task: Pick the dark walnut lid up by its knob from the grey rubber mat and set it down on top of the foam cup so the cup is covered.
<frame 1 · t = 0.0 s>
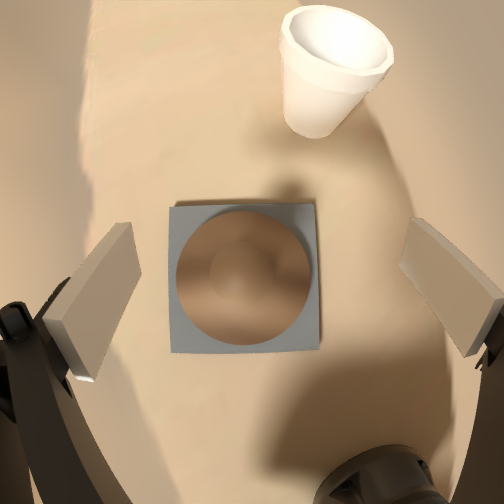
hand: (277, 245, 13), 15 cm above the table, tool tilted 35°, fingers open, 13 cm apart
lid: (243, 278, 27), point 1 cm above the table, touching mat
foam cup: (310, 116, 31), on the table
mat: (243, 278, 28), on the table
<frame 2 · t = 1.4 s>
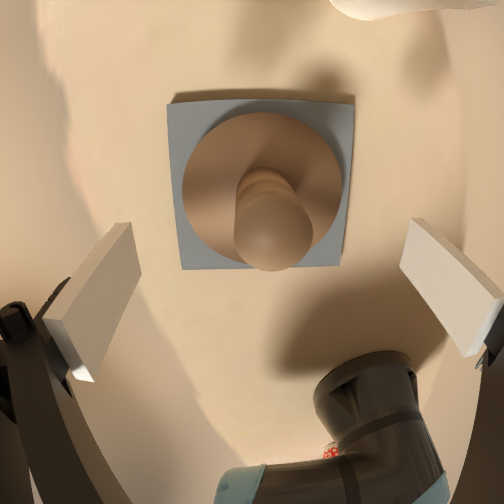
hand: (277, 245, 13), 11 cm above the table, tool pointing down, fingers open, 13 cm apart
beverage cup: (333, 446, 47), on the table
lid: (262, 189, 22), point 1 cm above the table, touching mat
mat: (261, 186, 23), on the table
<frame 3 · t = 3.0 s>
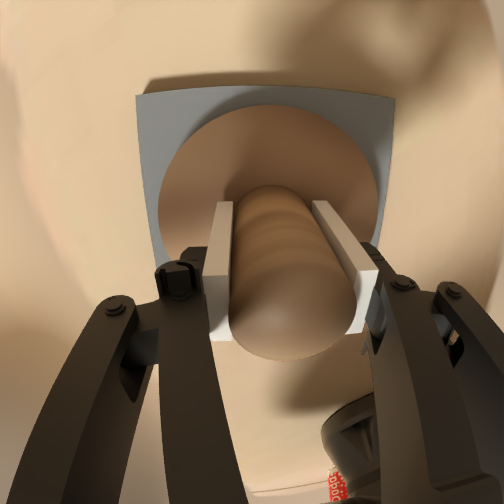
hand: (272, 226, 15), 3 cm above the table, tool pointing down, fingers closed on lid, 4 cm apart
beverage cup: (338, 468, 42), on the table
lid: (269, 213, 16), point 1 cm above the table, touching gripper
mat: (268, 206, 17), on the table
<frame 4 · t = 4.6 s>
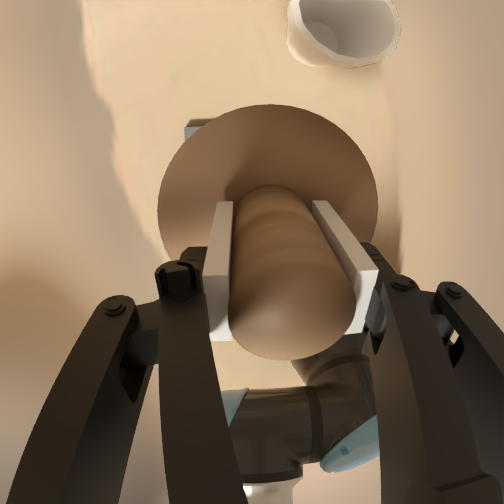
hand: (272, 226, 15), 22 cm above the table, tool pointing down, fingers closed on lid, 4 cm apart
lid: (269, 212, 16), point 20 cm above the table, touching gripper
foam cup: (312, 43, 28), on the table
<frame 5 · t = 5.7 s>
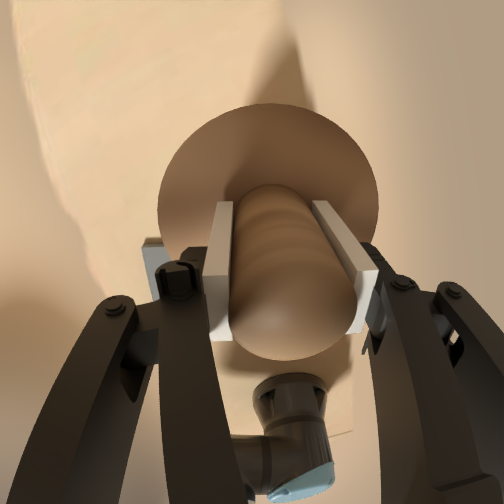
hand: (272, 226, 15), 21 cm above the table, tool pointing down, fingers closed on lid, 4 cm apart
lid: (269, 212, 16), point 19 cm above the table, touching gripper
mat: (198, 286, 41), on the table
when the fingers open (16 cm above the table, at t = 6.6 s): lid drops 2 cm, resting on foam cup.
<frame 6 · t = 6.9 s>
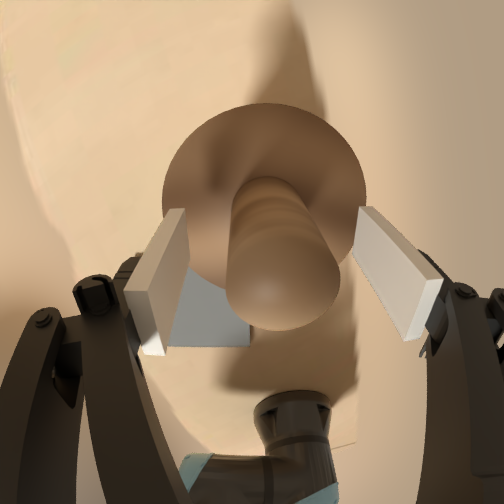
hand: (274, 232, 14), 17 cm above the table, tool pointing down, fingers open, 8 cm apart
lid: (265, 203, 18), point 13 cm above the table, touching foam cup
mat: (195, 304, 38), on the table
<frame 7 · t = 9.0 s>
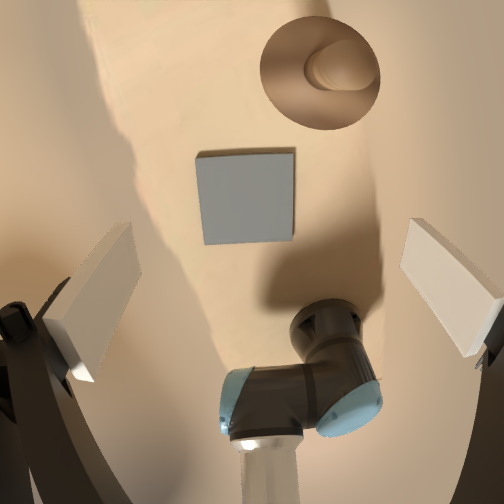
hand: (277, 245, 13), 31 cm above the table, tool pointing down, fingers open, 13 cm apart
lid: (320, 72, 24), point 13 cm above the table, touching foam cup
mat: (246, 199, 44), on the table
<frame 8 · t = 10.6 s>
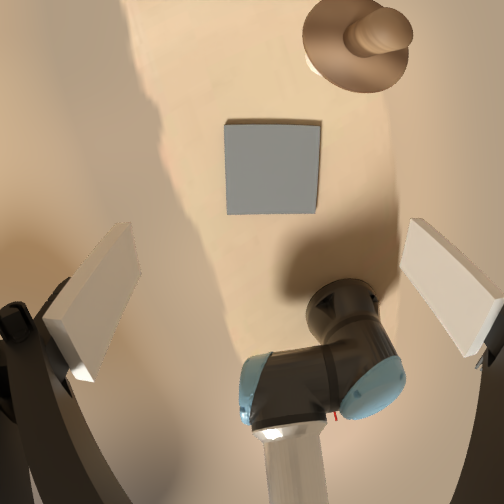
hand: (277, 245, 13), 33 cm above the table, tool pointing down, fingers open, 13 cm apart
lid: (356, 42, 24), point 13 cm above the table, touching foam cup
mat: (271, 169, 44), on the table
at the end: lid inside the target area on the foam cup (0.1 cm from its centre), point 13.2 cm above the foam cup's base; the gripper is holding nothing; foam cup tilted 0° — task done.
